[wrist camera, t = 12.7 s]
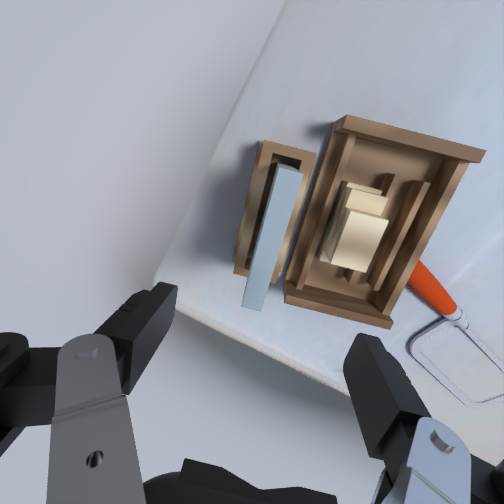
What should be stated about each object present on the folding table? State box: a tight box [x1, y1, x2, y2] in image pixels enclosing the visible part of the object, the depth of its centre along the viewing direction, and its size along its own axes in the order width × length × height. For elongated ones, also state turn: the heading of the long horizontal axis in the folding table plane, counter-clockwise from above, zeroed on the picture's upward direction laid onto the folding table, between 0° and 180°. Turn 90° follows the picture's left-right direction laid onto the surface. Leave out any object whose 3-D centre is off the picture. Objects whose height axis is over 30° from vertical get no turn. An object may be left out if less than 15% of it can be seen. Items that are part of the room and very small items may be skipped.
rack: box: [283, 115, 487, 330], centre depth 31 cm, size 22×14×6 cm, turn 167°
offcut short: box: [327, 207, 389, 273], centre depth 28 cm, size 6×4×2 cm, turn 167°
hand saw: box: [407, 260, 504, 408], centre depth 39 cm, size 33×3×10 cm
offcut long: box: [317, 180, 382, 263], centre depth 32 cm, size 10×4×2 cm, turn 167°
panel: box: [241, 163, 304, 312], centre depth 27 cm, size 12×2×14 cm, turn 166°
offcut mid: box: [324, 187, 388, 256], centre depth 30 cm, size 8×4×2 cm, turn 167°
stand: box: [233, 140, 317, 284], centre depth 32 cm, size 16×7×5 cm, turn 167°
